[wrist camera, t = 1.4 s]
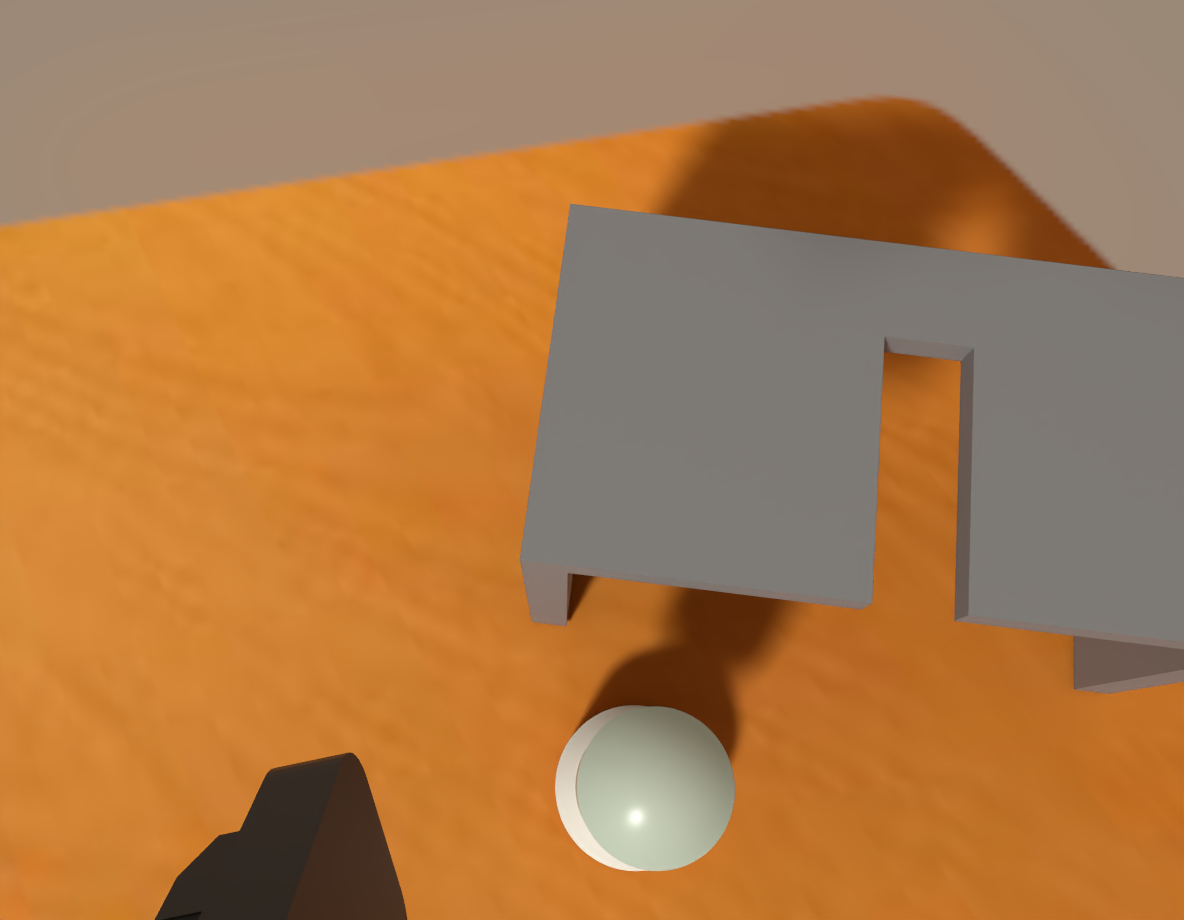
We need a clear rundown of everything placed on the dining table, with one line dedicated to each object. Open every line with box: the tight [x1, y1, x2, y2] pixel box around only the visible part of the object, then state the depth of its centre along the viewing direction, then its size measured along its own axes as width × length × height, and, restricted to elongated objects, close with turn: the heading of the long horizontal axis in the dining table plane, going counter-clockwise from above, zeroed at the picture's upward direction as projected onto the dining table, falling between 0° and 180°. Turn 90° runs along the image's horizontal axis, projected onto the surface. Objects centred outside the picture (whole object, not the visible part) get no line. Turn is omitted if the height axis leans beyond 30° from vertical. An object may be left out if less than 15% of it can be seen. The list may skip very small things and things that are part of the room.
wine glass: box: [555, 705, 735, 871], centre depth 31 cm, size 5×5×10 cm
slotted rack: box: [520, 204, 1184, 694], centre depth 34 cm, size 20×10×11 cm, turn 83°
